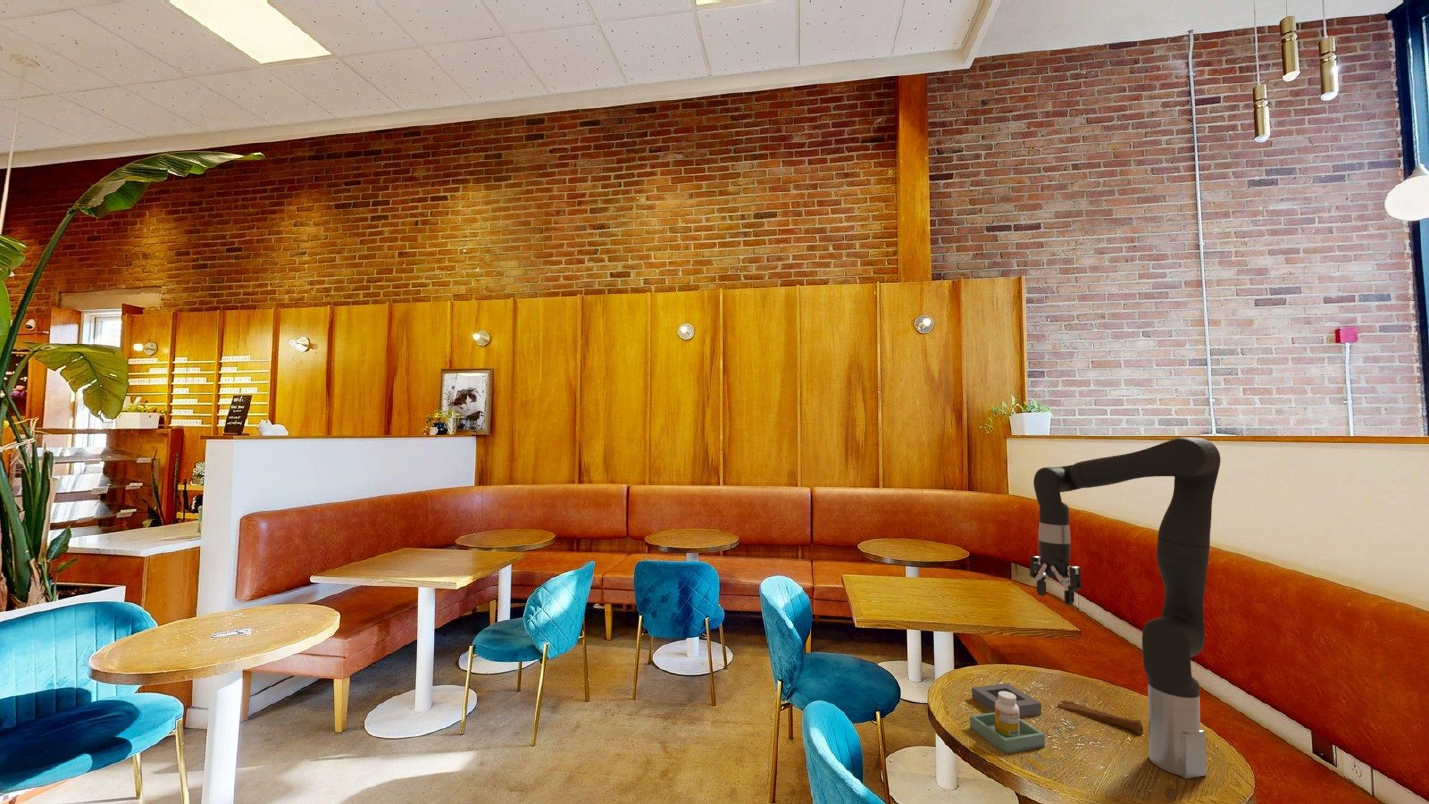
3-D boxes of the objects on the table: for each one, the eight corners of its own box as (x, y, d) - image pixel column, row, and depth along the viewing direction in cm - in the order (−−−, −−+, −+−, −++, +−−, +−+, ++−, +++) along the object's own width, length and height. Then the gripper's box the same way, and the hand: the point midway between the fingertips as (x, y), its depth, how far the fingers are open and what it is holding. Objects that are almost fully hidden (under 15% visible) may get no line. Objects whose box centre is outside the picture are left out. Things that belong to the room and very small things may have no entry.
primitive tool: (1055, 708, 154) (1055, 695, 154) (1062, 702, 157) (1062, 689, 158) (1140, 738, 139) (1140, 724, 139) (1146, 731, 143) (1146, 717, 143)
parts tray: (1044, 747, 134) (1044, 734, 134) (1005, 753, 131) (1005, 740, 131) (1007, 722, 145) (1007, 710, 145) (970, 727, 142) (970, 715, 142)
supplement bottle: (998, 726, 141) (998, 687, 142) (1021, 734, 138) (1021, 694, 138) (992, 735, 137) (992, 694, 138) (1016, 743, 134) (1016, 702, 134)
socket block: (1041, 714, 149) (1041, 703, 149) (1004, 719, 146) (1004, 708, 146) (1006, 693, 161) (1006, 683, 161) (971, 698, 158) (971, 687, 158)
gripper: (1088, 544, 147) (1089, 607, 146) (1043, 534, 161) (1044, 591, 160) (1066, 545, 145) (1067, 608, 144) (1022, 535, 159) (1022, 593, 158)
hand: (1054, 599), depth 152 cm, fingers open, 8 cm apart
